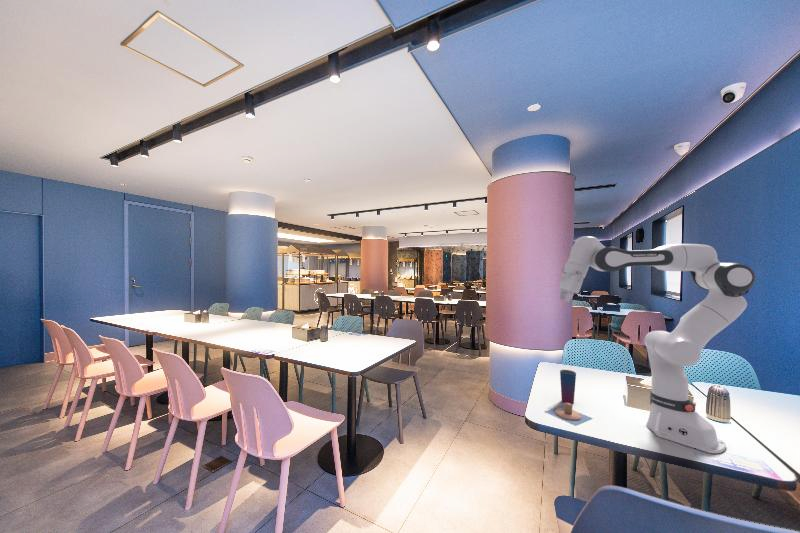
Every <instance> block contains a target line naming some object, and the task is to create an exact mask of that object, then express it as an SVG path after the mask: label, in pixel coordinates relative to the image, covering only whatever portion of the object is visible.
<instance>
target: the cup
mask: <svg viewBox="0 0 800 533" xmlns="http://www.w3.org/2000/svg"><path fill="white" fill-rule="evenodd" d="M559 376H560V378H559V379H560V392H561V393H560V395H561V396H560V397H561V402H562V403H563V404H564V403H566V402H567V403H571V404H572V405H574V404H575V390H576V380H577V372H575V371H574V370H572V369H571V370H570V369H560V370H559Z"/></svg>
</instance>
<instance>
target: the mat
mask: <svg viewBox="0 0 800 533" xmlns="http://www.w3.org/2000/svg"><path fill="white" fill-rule="evenodd" d="M558 408H564V405H559V406H557V407H553V408H550V409H548V410H545V411H544V413H546V414H549V415H551V416H553V417H555V418H557V419H559V420H561V421H564V422H566V423H569V424H570V425H573V426H575V427H576V426H579V425H580V424H583V423H586V422H588V421H590V420H593V419H594V418H593V417H591V416H588V415H585V414H583V413H581V412H578V411H577V412H578V413H580V414H581V419H580V420H576V421H574V420H567V419H564V418H561V417H559V416H558V415H557V414H556V413H555V410H556V409H558Z"/></svg>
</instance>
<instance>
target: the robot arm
mask: <svg viewBox="0 0 800 533" xmlns="http://www.w3.org/2000/svg"><path fill="white" fill-rule="evenodd" d="M716 250H717V249H715V248H714V247H713V246H711V245H708V244H700V243H673V244H665V245H661V246H657V247H655V248H653V249H641V250H640V249H638V250H637V249H636V250H627V249H623V248H619V247H618V246H605V245H603V243H602V242H600V241H599V239H598V237H595V236H590V235H588V236H587V235H585V236H579V237H578V238H576V240H575V241H574V244H573V245H572V248H571V250H570V252H569V257H568V259H567V261H566V262H565V265H564V267H563V268H562V271H561V272H562V274H561V277H560V280H559V284H558V288H559V289H560V292H559V297H558V299H559V300H562V301H564V302H566V303H570V302H571V299H572V298H573V296H574V295H575V294H579V293H580V291H581V289H582V285H583V282H584V279H585V278H586V276H587V273H588V271H589V268H590V267H591V268H592V269H594V270H595V271H598V272H607V273H608V272H611V273H612V272H613V273H614V272H618V271H621V270H623V269H625V268H628V267H629V268H630V267H654V268H655V269H656V270H659V271H664V272H665V271H667V272H689V273H690V276H691V281H692V282H693V284H694V285H695V286H696V287H698V288H700V289H701V290H702V289H703V290H704V291H705V290H706V291H708V294H707V295H706V297H705V298H704V299H702V301H699V302H698V303H697V304H696V305H695V306H693V308H691V309H689V310H688V311H687V312H686V313H685V314H683V315H682V316H681V317H680V319H679V322H678V324H677V325H676V327H675V328H674V329H673V330H672V331H670V332H669V331H666V330H651V331H649V332H648V333H646V335H645V336H644V339H643V342H644V345H645V348H646V350H647V356H648V357H647V358H648V360H649V366H650V370H651V371H650V372H651V391H650V394H649V402H650V403H649V404H650V411H649V415H648V419H647V422H646V424H645V425H646V427H647V428H648V429H650V430H651V431H652V432H653V433H654V434H655V435H656V436H657V437H659V438H660V439H664V440H665V439H666V440H668V441H671V442H674V443H677V444H680V445H683V446H686V447H690V448H694V449H695V448H696V449H695V450H699V451H702V452H704V453H709V454H720V453H723V452H725V450H726V449H727V446H726V442H725V441H723V439H719V438H718V435H717V431H716V429H715V427H714V425H713V424H712V423H710V422H709V421H708V420H707V419H705V418H704V417H703V416H702V415H700V414H699V413H698V412H697V411H696V406H697V402H696V401H695V402H693V401H692V400H691V399H689V378H688V376H687V374H686V371H685V369H684V367H693V366H694V365H697V363H698V362H699V361H700V359H701V357H702V355H701V353H702V350H703V349H704V348H705V347H706V345H707V343H709V342H710V341H711V339H712V338H714V337H715V336H716V335H718V334H719V333H721V331H723V330H724V329H725V328H727V327H728V326H729V325H731V324H732V323H733V322H734V321H736V320H737V319H738V318H739V317H740V316H741V314H743V312H744V311H745V310H746V309H747V306H748V302H747V300H746V299H745V297H744V296H745V295H747V294H748V293H749V292H750V288H752V286H753V285H754V283H755V280H756V274H755V272H754V270H753V269H752V268H751V267H749V266H748V265H746V264H743V263H738V262H721V261H720V260H719V258H718V253H717V251H716Z"/></svg>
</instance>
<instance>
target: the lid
mask: <svg viewBox="0 0 800 533" xmlns="http://www.w3.org/2000/svg"><path fill="white" fill-rule="evenodd" d="M563 404H564V405H563V406H564V408H558V409H556V410H555V413H556V414H557V415H558V416H559V417H561V418H564V419H567V420H574V421H576V420H580V419H581V414H582V413H581V412H579V413H578V411H576V410H574V409H573V404H571V403H567V402H566V403H563ZM580 413H581V414H580Z"/></svg>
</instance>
